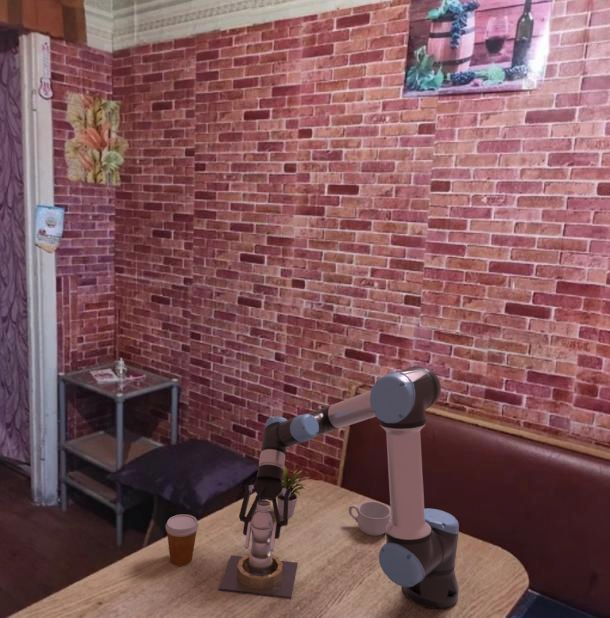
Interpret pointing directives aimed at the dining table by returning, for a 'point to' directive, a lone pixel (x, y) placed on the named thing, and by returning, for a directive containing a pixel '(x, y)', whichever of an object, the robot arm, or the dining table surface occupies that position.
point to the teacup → (372, 517)
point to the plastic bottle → (261, 538)
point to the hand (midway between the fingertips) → (259, 548)
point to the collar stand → (259, 578)
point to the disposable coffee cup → (181, 538)
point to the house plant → (293, 497)
